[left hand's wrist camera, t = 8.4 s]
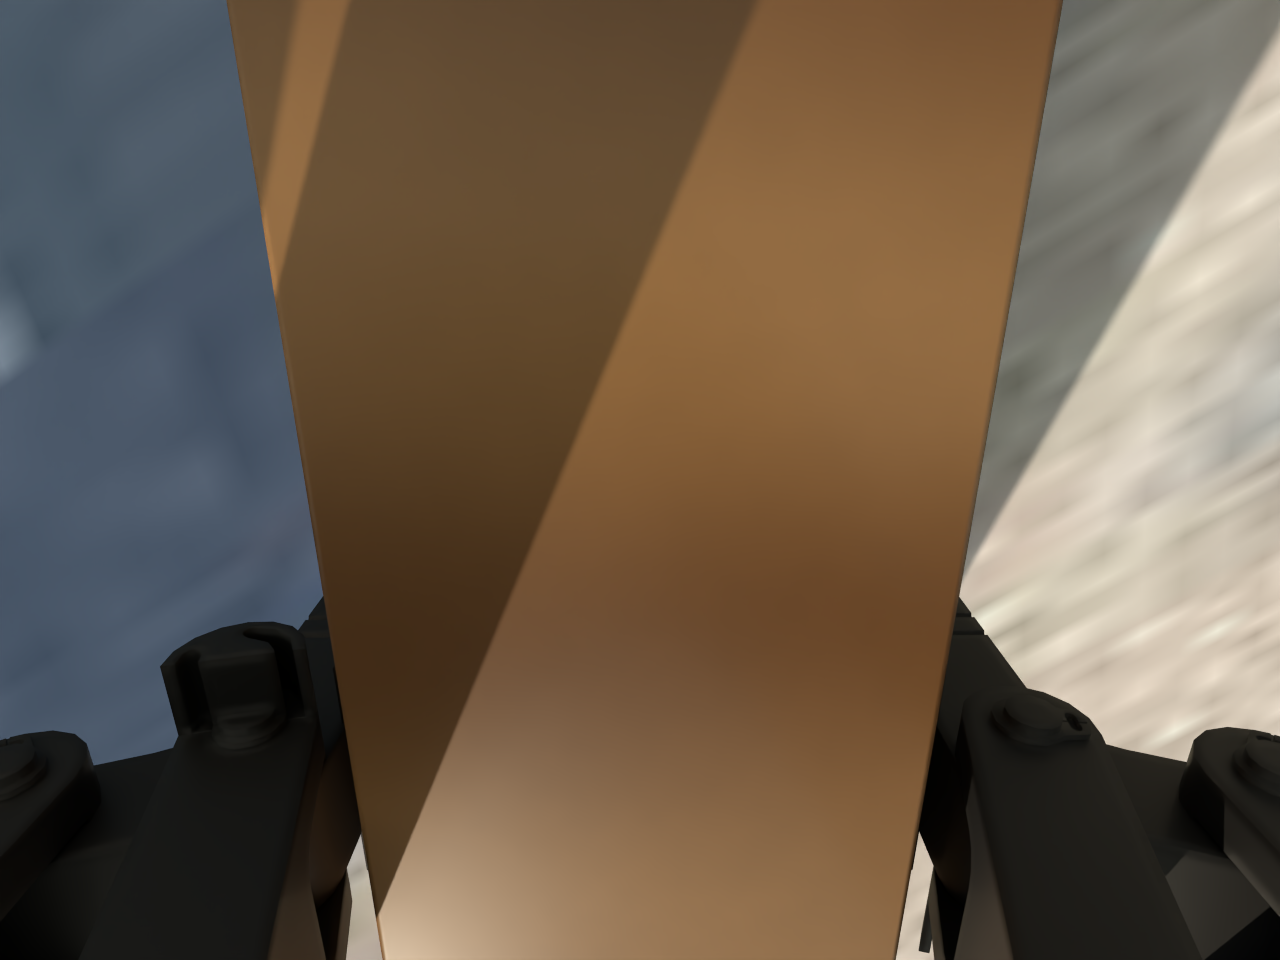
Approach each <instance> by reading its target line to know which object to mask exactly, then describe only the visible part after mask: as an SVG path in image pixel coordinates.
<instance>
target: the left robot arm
mask: <svg viewBox="0 0 1280 960" xmlns="http://www.w3.org/2000/svg"><path fill="white" fill-rule="evenodd" d="M160 668H161V672H162V675H163V679H164V683H165V687H166V690H167V694H168V698H169V702H170V705H171V709H172V713H173V717H174V720H175V724H176V728H177V732H178V735H179V736H178V738H177V740H176V743H175V745H174V747H173V748H171V749H167V750H164V751H160V752H156V753H152V754H147V755H142V756H138V757H133V758H128V759H123V760H118V761H114V762H109V763H104V764H99V765H93V762H92V759H91V756H90V753H89V750H88V747H87V744H86V743H85V742H84V741H83V740H81V739H80V738H79V737H78V736H77V735H75V734H72V733H65V732H59V731H45V732H37V733H28V734H23V735H18V736H14V737H10V738H9V739H3V740H0V960H346V953H347V944H348V935H349V926H350V917H351V908H352V896H351V890H350V883H349V878H348V872H347V866H348V863H349V861H350V859H351V856H352V854H353V851H354V849H355V847H356V844H357V842H358V839H359V837H360V835H361V837H362V843H363V849H364V855H365V861H366V867H367V870H368V866H367V860H366V854H365V848H364V841H363V835H362V829H361V823H360V817H359V811H358V805H357V798H356V792H355V786H354V780H353V774H352V768H351V762H350V755H349V749H348V743H347V737H346V731H345V725H344V719H343V712H342V706H341V700H340V694H339V688H338V682H337V676H336V669H335V663H334V657H333V651H332V645H331V639H330V633H329V626H328V620H327V614H326V608H325V602H324V596H323V597H322V599H321V600H320V601H319V603H318V604H317V605H316V607H315V608H314V609H313V611H312V612H311V614H310V615H309V620H305V622H304V623H303V624H302V626H301V627H300V629H299V630H297V629H295V628H294V627H293V626H289V625H285V624H281V623H276V622H247V623H242V624H238V625H233V626H228V627H223V628H220V629H217V630H214V631H212V632H209V633H207V634H204V635H201V636H199V637H196V638H194V639H193V640H191V641H189V642H188V643H186V644H185V645H183V646H181V647H180V648H178V649H177V650H175V651H174V652H173V653H172V654H171V655H170V656H169V657H168V658H167V659H166V661H165V662H164V663H163V664H162V665H161V666H160ZM919 832H920V834H921V837H922V839H923V841H924V844H925V846H926V849H927V851H928V853H929V856H930V858H931V861H932V863H933V865H934V867H933V872H932V878H931V883H930V889H929V894H928V899H927V905H926V910H925V916H924V921H923V927H922V932H921V939H920V945H919V951H922V952H926V953H929V952H930V947H931V941H932V942H933V951H934V960H1280V736H1277V735H1274V736H1273V735H1271V734H1270V733H1266V732H1261V731H1257V730H1249V729H1240V728H1232V727H1224V728H1218V729H1211V730H1206V731H1204V732H1203V733H1202V734H1201V735H1199V736H1198V737H1197V738H1196V739H1195V740H1194V741H1193V745H1192V748H1191V751H1190V754H1189V757H1188V760H1187V762H1183V761H1178V760H1173V759H1169V758H1164V757H1159V756H1154V755H1149V754H1144V753H1140V752H1135V751H1130V750H1125V749H1122V748H1118V747H1114V746H1111V745H1107V744H1106V743H1105V741H1104V739H1103V737H1102V735H1101V733H1100V732H1099V731H1098V729H1097V728H1096V727H1095V725H1094V724H1093V723H1092V721H1091V720H1090V719H1089V718H1088V717H1087V716H1085V715H1084V714H1083V713H1081V712H1080V711H1079V710H1077V709H1076V708H1074V707H1073V706H1072V705H1070V704H1069V703H1067V702H1065V701H1062V700H1060V699H1058V698H1056V697H1053V696H1051V695H1049V694H1046V693H1044V692H1040V691H1036V690H1032V689H1028V688H1026V687H1025V685H1024V684H1023V682H1022V681H1021V680H1020V678H1019V677H1018V676H1017V674H1016V673H1015V672H1014V670H1013V669H1012V668H1011V666H1010V665H1009V664H1008V662H1007V661H1006V659H1005V658H1004V657H1003V655H1002V654H1001V653H1000V651H999V650H998V649H997V647H996V646H995V645H994V643H993V642H992V641H991V639H990V638H989V637H988V635H984V630H983V628H982V627H981V626H980V624H979V623H978V622H977V620H976V619H975V618H974V617H971V612H970V611H969V609H968V608H967V607H966V605H965V604H964V603H963V601H962V600H961V599H960V597H959V599H958V605H957V611H956V616H955V622H954V628H953V634H952V639H951V645H950V651H949V657H948V662H947V668H946V674H945V679H944V685H943V691H942V697H941V702H940V708H939V714H938V720H937V725H936V731H935V737H934V742H933V748H932V754H931V760H930V765H929V771H928V777H927V783H926V788H925V794H924V800H923V805H922V811H921V817H920V823H919V828H918V834H919ZM918 834H917V840H918ZM917 840H916V846H917ZM916 846H915V851H914V857H913V863H912V868H911V870H912V869H913V864H914V858H915V852H916Z"/></svg>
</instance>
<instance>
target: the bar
mask: <svg viewBox="0 0 1280 960" xmlns="http://www.w3.org/2000/svg"><path fill="white" fill-rule="evenodd" d="M1062 4H1063V0H227V6H228V12H229V19H230V25H231V31H232V37H233V43H234V49H235V55H236V62H237V68H238V74H239V80H240V86H241V92H242V98H243V105H244V111H245V117H246V123H247V129H248V135H249V141H250V148H251V154H252V160H253V166H254V172H255V178H256V184H257V191H258V197H259V203H260V209H261V215H262V221H263V227H264V234H265V240H266V246H267V252H268V258H269V264H270V270H271V276H272V283H273V289H274V295H275V301H276V307H277V313H278V319H279V326H280V332H281V338H282V344H283V350H284V356H285V362H286V369H287V375H288V381H289V387H290V393H291V399H292V405H293V412H294V418H295V424H296V430H297V436H298V442H299V448H300V455H301V461H302V467H303V473H304V479H305V485H306V491H307V498H308V504H309V510H310V516H311V522H312V528H313V534H314V541H315V547H316V553H317V559H318V565H319V571H320V577H321V584H322V590H323V596H324V602H325V608H326V614H327V620H328V626H329V633H330V639H331V645H332V651H333V657H334V663H335V669H336V676H337V682H338V688H339V694H340V700H341V706H342V712H343V719H344V725H345V731H346V737H347V743H348V749H349V755H350V762H351V768H352V774H353V780H354V786H355V792H356V798H357V805H358V811H359V817H360V823H361V829H362V835H363V841H364V848H365V854H366V860H367V866H368V872H369V878H370V884H371V891H372V897H373V903H374V909H375V915H376V921H377V927H378V933H379V940H380V946H381V952H382V958H383V960H896V954H897V949H898V943H899V937H900V931H901V926H902V920H903V914H904V909H905V903H906V897H907V891H908V886H909V880H910V874H911V868H912V863H913V857H914V851H915V846H916V840H917V834H918V828H919V823H920V817H921V811H922V805H923V800H924V794H925V788H926V783H927V777H928V771H929V765H930V760H931V754H932V748H933V742H934V737H935V731H936V725H937V720H938V714H939V708H940V702H941V697H942V691H943V685H944V679H945V674H946V668H947V662H948V657H949V651H950V645H951V639H952V634H953V628H954V622H955V616H956V611H957V605H958V599H959V594H960V588H961V582H962V576H963V571H964V565H965V559H966V553H967V548H968V542H969V536H970V531H971V525H972V519H973V513H974V508H975V502H976V496H977V490H978V485H979V479H980V473H981V468H982V462H983V456H984V450H985V445H986V439H987V433H988V427H989V422H990V416H991V410H992V405H993V399H994V393H995V387H996V382H997V376H998V370H999V364H1000V359H1001V353H1002V347H1003V342H1004V336H1005V330H1006V324H1007V319H1008V313H1009V307H1010V301H1011V296H1012V290H1013V284H1014V279H1015V273H1016V267H1017V261H1018V256H1019V250H1020V244H1021V238H1022V233H1023V227H1024V221H1025V216H1026V210H1027V204H1028V198H1029V193H1030V187H1031V181H1032V175H1033V170H1034V164H1035V158H1036V153H1037V147H1038V141H1039V135H1040V130H1041V124H1042V118H1043V112H1044V107H1045V101H1046V95H1047V90H1048V84H1049V78H1050V72H1051V67H1052V61H1053V55H1054V49H1055V44H1056V38H1057V32H1058V26H1059V21H1060V15H1061V9H1062Z"/></svg>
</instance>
